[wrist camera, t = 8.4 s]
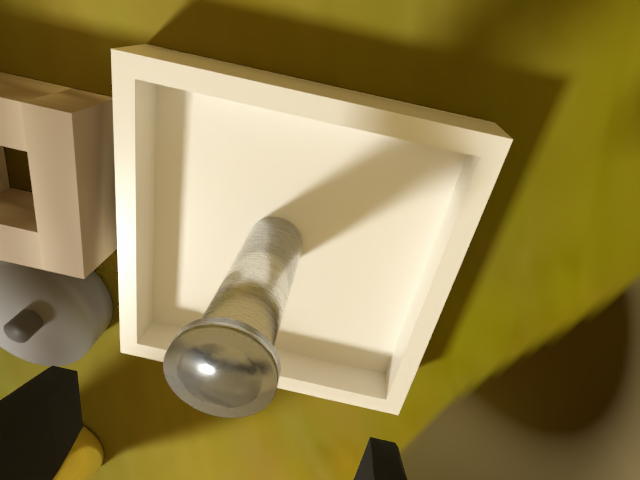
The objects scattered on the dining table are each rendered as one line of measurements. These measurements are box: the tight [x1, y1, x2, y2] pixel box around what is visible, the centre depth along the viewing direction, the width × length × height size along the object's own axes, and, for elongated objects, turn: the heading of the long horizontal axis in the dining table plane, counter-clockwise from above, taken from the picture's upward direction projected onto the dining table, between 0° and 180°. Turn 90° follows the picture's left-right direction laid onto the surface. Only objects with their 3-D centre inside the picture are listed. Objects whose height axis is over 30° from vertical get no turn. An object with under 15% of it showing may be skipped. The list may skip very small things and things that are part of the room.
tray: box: [111, 44, 513, 415], centre depth 19 cm, size 14×14×2 cm
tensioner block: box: [0, 72, 117, 366], centre depth 20 cm, size 7×14×3 cm, turn 169°
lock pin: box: [163, 217, 303, 418], centre depth 16 cm, size 3×3×8 cm
